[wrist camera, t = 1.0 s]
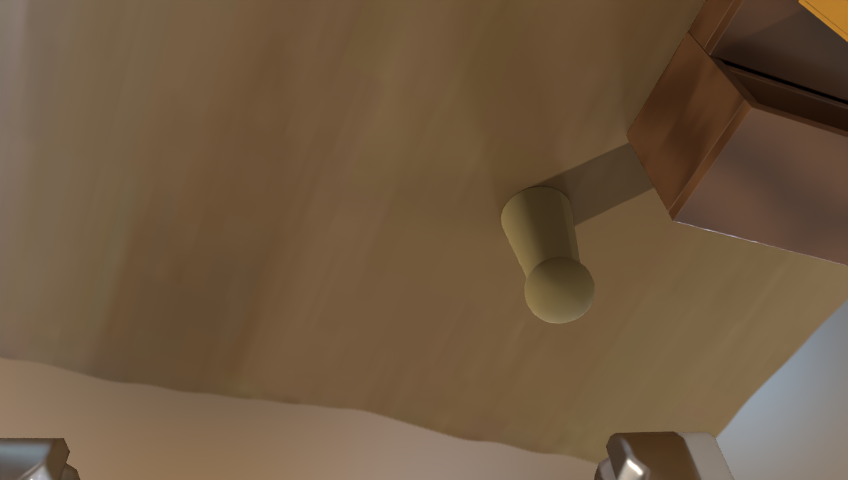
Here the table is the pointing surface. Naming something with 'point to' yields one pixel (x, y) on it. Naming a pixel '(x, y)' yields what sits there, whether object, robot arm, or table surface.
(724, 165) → the wooden l-shaped block
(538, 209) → the tan pawn game piece
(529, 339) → the table surface
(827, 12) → the book
